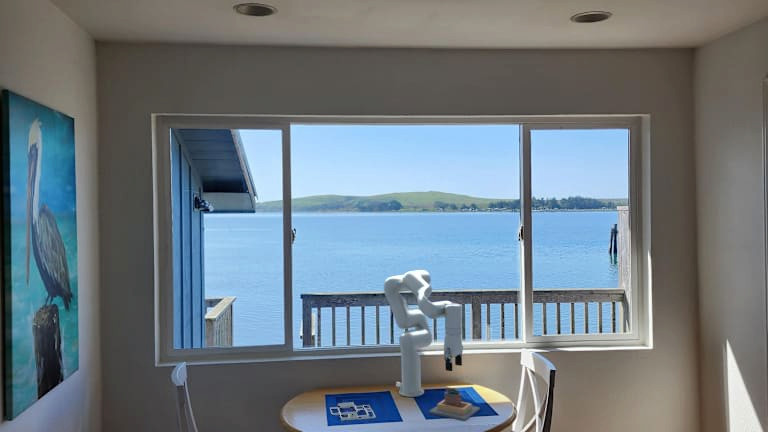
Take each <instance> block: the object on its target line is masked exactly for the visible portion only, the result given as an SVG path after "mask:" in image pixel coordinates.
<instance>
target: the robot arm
mask: <svg viewBox="0 0 768 432" xmlns="http://www.w3.org/2000/svg"><path fill="white" fill-rule="evenodd" d="M431 280H432V279H431V275H430V273H429V271H427V270H425V269H418V270H409V271H407V272H405V273H404V274H400V275H399V274H398V275H392V276H389V277H387V278H386V279H385V281H384V283H383V292H384V296H385V298H386V300H387V301H388V303H389V305H390V309H391V312H392V315H393V317H394V321H395V323H396V325H397V327H398V329H401V330H405V331H403V332H402V333H401V334H400V335H399V337H398V341H399V348H400V355H401V357H400V359H401V382H400V381H396V383H395V387H396V388H399V390H398V394H399V395H401V396H403V397H408V398H409V397H411V398H413V397H414V398H415V397H420V396H422V395H424V393H425V390H424V388H422V382H421V357H420V354H419V353H418V351H417V349H422V348H425V347H426V348H427V347H429V346H431V345H432V342H433V335H432V331H431V328H430V326H429V323H428V320H427V318H428V319H431V320H436V319H440V318H441V319H442V318H444V342H443V359H444V362H445V365H444V366H445V371H447V372H453V361H452V360H453V358H454V365H455V366H460V367H461V366H462V365H463V359H462V357H463V351H464V350H463V348H464V346H463V342H462V340H463V338H462V332H463V331H462V325H463V324H462V322H463V321H462V306H461V304H460V303H456V302H455V303H454V302H452V301H450V300H440V301H434V302H432V301H430V300H429V297H430V296H431V294H432V293H433V288H432V286H431V284H430V283H431ZM401 292H402V293H403V292H411V293H412V294H413V295H415V297H416V298H417V299H416V302H417V306H418V308H417V307H414V308H410V307H409V305H408V302H407V299H406V298H405V297H404V296H403V295H402V294H400V293H401ZM414 328H415V329H414ZM406 329H407V330H406ZM409 329H410V330H409Z"/></svg>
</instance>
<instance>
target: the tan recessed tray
mask: <svg viewBox="0 0 768 432" xmlns="http://www.w3.org/2000/svg"><path fill="white" fill-rule="evenodd" d="M480 409H481V407H479V406H474V405H473V403H470V402H465V401H461V408H460V407H455V406H450V405H445V398H444V399H442V400H441V401H439V402H438V403H437V404H436V406H435V407H433V408H431V409H430V410H428V414H430V415H436V416H440V417H444V418H450V419H455V420H460V421H465V422H466V421H467V420H468V419H470V418H471V417H473V416H474V415H475V414H476V413H477V412H478V411H480Z"/></svg>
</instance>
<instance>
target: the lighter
mask: <svg viewBox="0 0 768 432" xmlns="http://www.w3.org/2000/svg"><path fill="white" fill-rule="evenodd" d="M459 390H460V389H458V388H455V387H452V388H451V387H448V386H447V387H445V392H443V394H444V399H445V405H450V406H455V407H460V408H461V402H462V393H459V392H460V391H459Z"/></svg>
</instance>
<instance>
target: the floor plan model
mask: <svg viewBox="0 0 768 432" xmlns="http://www.w3.org/2000/svg"><path fill="white" fill-rule="evenodd" d="M338 406H340V407H338ZM364 406H367V407H364ZM350 407H353V409H354V411H345V412H341V411H340V410H341V409H340V408H342V409H351V408H350ZM363 408H364V409H363ZM331 409H337V412H334V413H333V410H331ZM329 410H330V411H329V412H330V414H332V415H335V416H339V415H340V416H339V418H341V419H340V421H341V422H344V421H345V420H346V421H355V420H358V421H359V420H369V419H376V418H377V416H376V415H375V413H374V410H373V409H372V408H371V406H370V404H363V405H356V404H355V403H354V401H352V402H351V401H350V402H341V403H340V402H339V403H337V406H335V407H329ZM355 410H356V411H355ZM360 410H364V412H365V413H366V414H362V415H358V414H359V412H360ZM368 412H372V413H371V415H372V416H370V413H368ZM357 413H358V414H357ZM352 414H353V415H352ZM332 415H331V416H332ZM341 415H344V416H345V417H342V416H341ZM347 415H348V416H347ZM346 416H347V417H346ZM359 417H361V418H359Z"/></svg>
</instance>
